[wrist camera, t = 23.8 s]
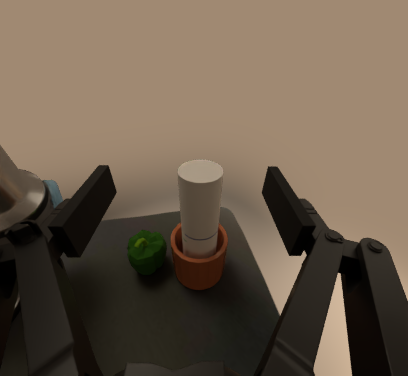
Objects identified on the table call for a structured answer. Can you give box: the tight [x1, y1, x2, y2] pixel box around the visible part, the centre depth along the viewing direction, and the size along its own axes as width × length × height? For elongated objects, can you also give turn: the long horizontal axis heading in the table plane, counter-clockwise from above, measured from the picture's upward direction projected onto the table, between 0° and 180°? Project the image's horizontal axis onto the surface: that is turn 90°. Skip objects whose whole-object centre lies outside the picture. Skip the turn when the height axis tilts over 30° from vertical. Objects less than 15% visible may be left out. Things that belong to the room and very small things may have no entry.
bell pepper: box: [127, 230, 167, 275], centre depth 43 cm, size 8×8×10 cm
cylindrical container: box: [178, 159, 223, 259], centre depth 38 cm, size 7×7×25 cm
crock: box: [171, 223, 228, 290], centre depth 43 cm, size 12×12×10 cm
